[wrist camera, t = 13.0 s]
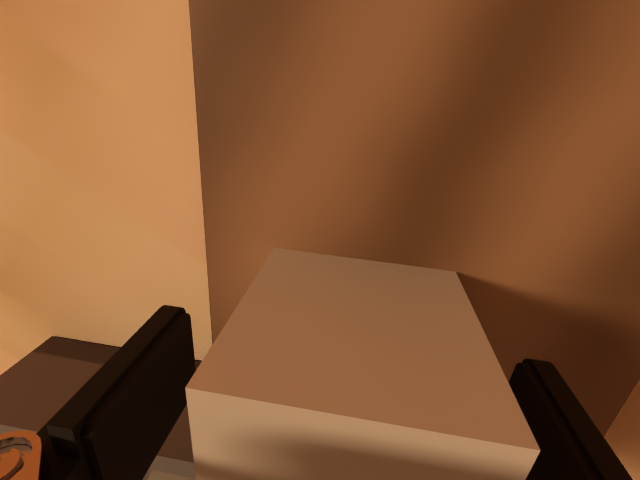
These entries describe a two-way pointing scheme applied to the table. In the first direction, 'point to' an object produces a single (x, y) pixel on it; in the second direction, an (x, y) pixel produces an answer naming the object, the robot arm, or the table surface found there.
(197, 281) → the table surface
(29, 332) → the table surface
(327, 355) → the beige cube
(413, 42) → the walnut board
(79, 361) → the charcoal bin
